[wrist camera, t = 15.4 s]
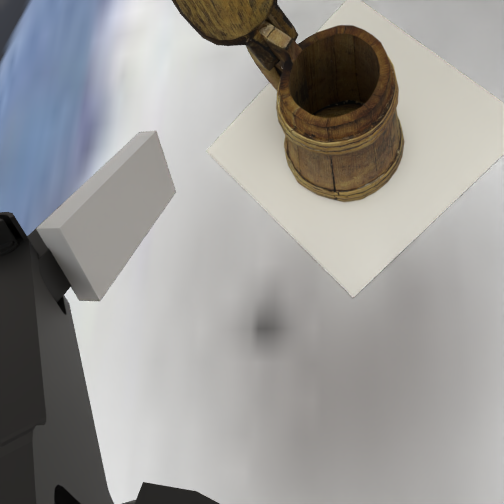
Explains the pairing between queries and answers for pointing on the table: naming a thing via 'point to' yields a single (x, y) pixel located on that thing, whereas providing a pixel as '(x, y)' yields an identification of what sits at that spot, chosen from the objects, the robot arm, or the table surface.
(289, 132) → the wooden mug
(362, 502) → the table surface
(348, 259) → the cream board
